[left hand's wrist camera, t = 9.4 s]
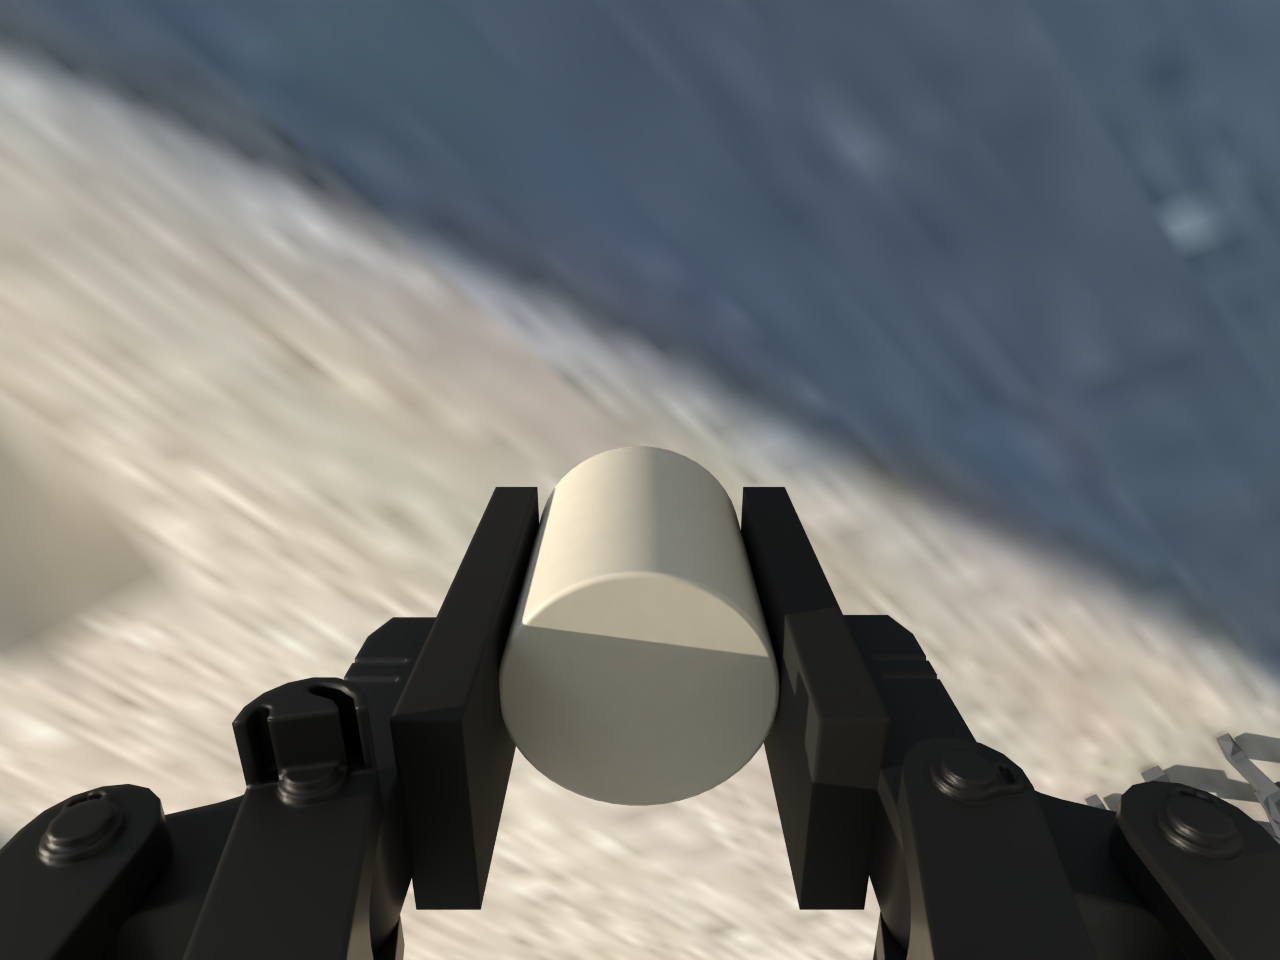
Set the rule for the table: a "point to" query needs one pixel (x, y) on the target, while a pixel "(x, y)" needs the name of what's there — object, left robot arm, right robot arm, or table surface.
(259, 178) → the table surface
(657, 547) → the cylinder
